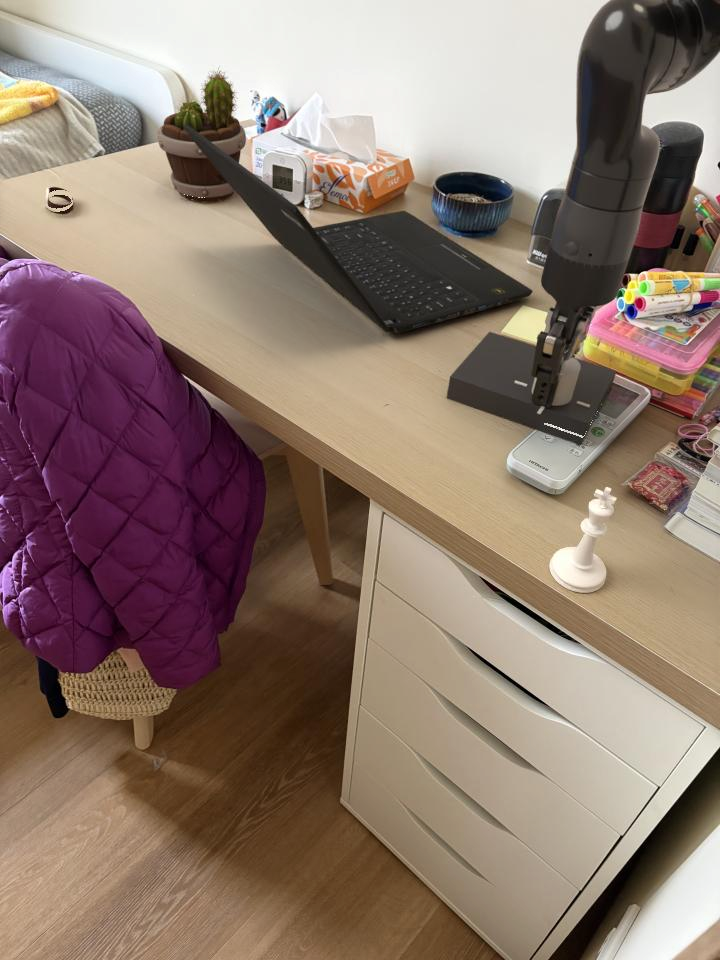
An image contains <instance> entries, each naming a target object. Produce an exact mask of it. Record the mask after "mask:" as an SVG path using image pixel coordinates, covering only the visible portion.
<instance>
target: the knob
mask: <svg viewBox="0 0 720 960" xmlns="http://www.w3.org/2000/svg"><path fill="white" fill-rule="evenodd" d="M575 358H576V357H575ZM575 358H573V357H572V358H571V359H570V360H568V361H566V364H565V366H564V369H563V372H562V374H563V375H562V377H561V378H560V380H559V383H558V387H557V390H556V394H555V397H554V401H553V403H552V405H554V406H559V405H565V404H567V403H569V402H570V401H571V399H572V396H573V392H574V389H575V385H576V382H577V379H578V375H579V372H580V368H581V365H580V363H579V362H578V361H577V360H576V359H577V358H576V359H575ZM536 380H537V378H535V379H534V383H533V387H532V394H533V391H534V387H535V383H536Z"/></svg>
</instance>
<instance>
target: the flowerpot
mask: <svg viewBox="0 0 720 960" xmlns="http://www.w3.org/2000/svg"><path fill="white" fill-rule="evenodd" d="M220 67H221V65H219V66H218V68H217V71H215V70H214V69H212V70H210V71H209V72H211V73H212V74H211V75H210V74H208V75H206V76H207V77H206V78H205V79H206V80H205V79H204V80H203V82H204V83H203V84H200V87H201V88H200V89H199V91H201V92H200V94H199V95H200V96H199V99H200V101H198V102H197V101H193V100H194V97H192V98H191V99H187V100H185V101H184V100H183V101H181V103H182V105H181V104H179V106H175V108H176V109H177V110H179V111H178V112H174V113H173V114H170V115H168V116H167V117H165V119H164V120H163V124H162V125H161V126H160V127H159V128H158V129H157V133H156V135H157V142H158V146H159V148H160V149H161V150H162V151H164V152H165V155H166V159H167V161H168V165H169V167H170V169H171V174H170V180H171V183H172V186H173V188H174V190H175V191H177V192H178V194H179V195H180V196H183V197H184V199H185V200H187V201H193V202H196V203H216V202H220V201H222V202H223V201H225V200H227V199H228V200H229V199H230V198H231V197H233V196H234V195H235V193H236V192H235V191H234V189H233V188H232V187H231V186H230V185H229V184H228V182H227V181H226V180H225V179H224V178H223V176H222V175H221V174H220V173H219V172H218V170H217V169H216V168H215V167H214V166H213V164H212V163H211V162H210V161H209V159H208V158H207V157H206V156H205V155H204V153H203V152H202V151H201V150H200V149H199V147H198V146H197V145H196V144H195V142H194V141H193V140H192V139H191V138H190V136H189V135H188V133H187V131H186V130H185V129H184V124H187V125H189V126H190V127H191V128H193V129H194V130H196V131H197V132H198V133H199V134H201V135H202V136H204V137H205V138H206V139H208V140H209V141H210V142H212V143H213V144H214V145H216V146H217V147H218V148H220V149H221V150H222V151H224V152H225V153H226V154H227V155H229V156H230V157H231V158H233V159H234V160H235V161H237V162H238V163H239V164H240V160H241V152H242V150H243V149H244V147H245V146H246V143H247V136H246V135H247V134H246V131H245V128H244V126H242V125H241V124H240V121H239V119H238V118H236V117H235V115H236V111H237V100H236V99H239V97H237V96H236V94H238V92H236V91H234V90H233V85H234V82H230V81H228V80H227V79H230V78H229V76H225V75H226V72H225V71H223V72H222V70H219V69H220ZM184 98H185V99H186V97H184V96H183V99H184ZM199 102H200V103H199ZM202 104H203V105H202ZM201 105H202V106H201ZM204 106H205V107H204ZM233 113H234V114H233ZM184 194H185V195H184ZM187 195H188V196H187ZM192 196H193V197H192ZM198 197H200V198H198ZM201 197H203V198H201ZM204 197H205V198H204Z"/></svg>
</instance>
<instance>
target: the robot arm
mask: <svg viewBox="0 0 720 960" xmlns="http://www.w3.org/2000/svg"><path fill="white" fill-rule="evenodd" d="M719 54H720V0H608V1H607V2H606V3H604V4H603V5H602V6H601V7H600V8H599V10H598V11H597V12H596V13H595V14H594V16H593V17H592V19H591V21H590V23H589V24H588V26H587V28H586V30H585V33H584V36H583V38H582V41H581V44H580V47H579V51H578V55H577V63H576V82H575V83H576V84H575V85H576V87H575V88H576V92H575V93H576V96H575V97H576V99H575V100H576V102H575V109H576V110H575V126H576V128H575V130H576V147H575V151H574V154H573V158H572V161H571V164H570V165H571V166H570V169H569V173H568V178H567V182H566V185H565V190H564V193H563V197H562V199H561V201H560V205H559V207H558V210H557V213H556V216H555V220H554V224H553V228H552V232H551V237H550V241H549V244H548V249H547V253H546V256H545V257H546V258H545V261H544V264H543V269H542V274H541V277H540V283H541V286H542V289H543V290H544V291H545V292H546V293H547V294H548V295H550V296H551V297H552V298H553V299H554V302H555V304H554V306H550V307H549V309H548V311H547V314H546V317H545V320H544V323H545V328H544V331H543V330H541V331H540V332H539V333H538V334H537V337H536V345H535V346H536V350H535V356H534V362H533V368H532V371H531V373H532V374H531V376H532V377H535V378H537V380H536V383H535V387H534V391H533V395H532V402H533V403H535V404H538V405H540V406H544V407H546V408H549V407H550V406H551V405H552V403H553V401H554V397H555V394H556V390H557V387H558V383H559V380H560V378H561V377H562V375H563V374H562V372H563V369H564V366H565V364H566V361H568V360H570V359H571V358H572V357H573V358H576V356H577V355H578V353H579V352H580V351H581V345H582V344H581V343H583V344H584V342H585V341H586V340H587V336H588V335H589V330H590V327H591V323H592V321H593V319H594V318H595V315H596V312H597V307H601V306H605V305H608V304H610V303H611V302H613V301H614V300H616V298H617V297H618V294H619V291H620V288H621V286H622V283H623V279H624V276H625V273H626V270H627V267H628V264H629V262H630V259H631V255H632V251H633V249H634V245H635V242H636V239H637V236H638V234H639V229H640V224H641V219H642V212H643V209H644V206H645V205H644V204H645V202H646V198H647V194H648V192H649V189H650V186H651V183H652V179H653V176H654V175H655V174H654V173H655V170H656V167H657V164H658V160H659V157H660V151H661V141H660V137H659V135H657V133H656V132H655V130H653V129H652V128H650V127H649V126H646V125H644V124H643V112H644V104H645V100H646V97H647V96H648V95H654V94H660V93H665V92H669V91H673V90H676V89H678V88H680V87H682V86H684V85H686V84H687V83H689V82H690V81H691V80H693V79H694V78H695V77H696V76H698V75H699V74H700V73H701V72H703V71H704V70H705V69H706V68H707V67H708V66H709V65H710V64H711V63H712V62H713V61H714V60H715V58H716V57H718V55H719Z"/></svg>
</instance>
